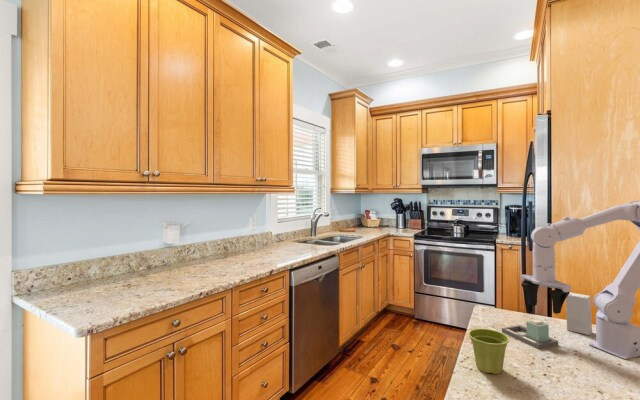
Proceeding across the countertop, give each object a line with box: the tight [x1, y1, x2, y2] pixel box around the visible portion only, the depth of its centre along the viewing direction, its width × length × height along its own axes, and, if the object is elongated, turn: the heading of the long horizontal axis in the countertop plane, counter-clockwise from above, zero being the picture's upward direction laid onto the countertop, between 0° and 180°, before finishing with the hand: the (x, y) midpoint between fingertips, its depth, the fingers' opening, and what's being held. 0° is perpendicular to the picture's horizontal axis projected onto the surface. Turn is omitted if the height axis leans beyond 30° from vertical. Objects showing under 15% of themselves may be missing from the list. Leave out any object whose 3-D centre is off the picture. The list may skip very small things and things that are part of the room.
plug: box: [525, 319, 550, 343], centre depth 100 cm, size 4×4×7 cm
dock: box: [501, 324, 559, 350], centre depth 103 cm, size 13×8×1 cm, turn 17°
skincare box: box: [565, 291, 593, 336], centre depth 107 cm, size 6×4×12 cm
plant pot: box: [468, 328, 510, 375], centre depth 85 cm, size 9×9×9 cm
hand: (544, 309), depth 102 cm, fingers open, 7 cm apart
